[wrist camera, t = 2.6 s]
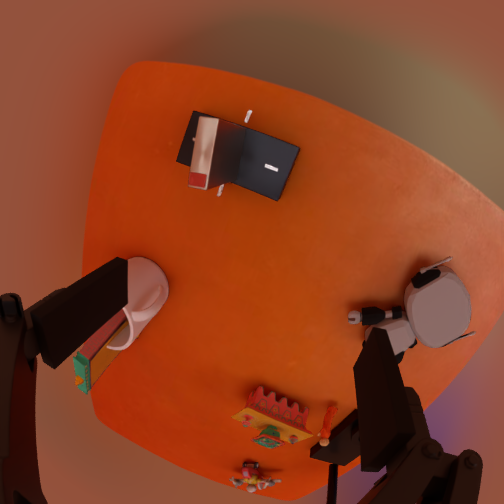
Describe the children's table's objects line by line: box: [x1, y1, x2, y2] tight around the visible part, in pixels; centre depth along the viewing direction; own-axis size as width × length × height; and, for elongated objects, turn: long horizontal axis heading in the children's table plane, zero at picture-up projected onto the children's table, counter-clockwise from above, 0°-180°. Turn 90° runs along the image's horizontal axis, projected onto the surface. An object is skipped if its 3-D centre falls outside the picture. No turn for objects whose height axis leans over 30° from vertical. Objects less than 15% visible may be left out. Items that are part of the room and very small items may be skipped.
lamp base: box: [310, 409, 361, 466], centre depth 40 cm, size 16×8×4 cm, turn 156°
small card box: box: [188, 116, 246, 190], centre depth 25 cm, size 6×2×9 cm, turn 169°
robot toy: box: [348, 256, 476, 364], centre depth 31 cm, size 12×4×15 cm
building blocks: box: [73, 309, 338, 449], centre depth 35 cm, size 12×35×14 cm, turn 59°
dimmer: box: [176, 110, 301, 201], centre depth 30 cm, size 12×10×3 cm
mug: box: [107, 257, 169, 350], centre depth 34 cm, size 11×9×10 cm
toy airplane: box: [229, 462, 281, 492], centre depth 47 cm, size 9×9×6 cm
